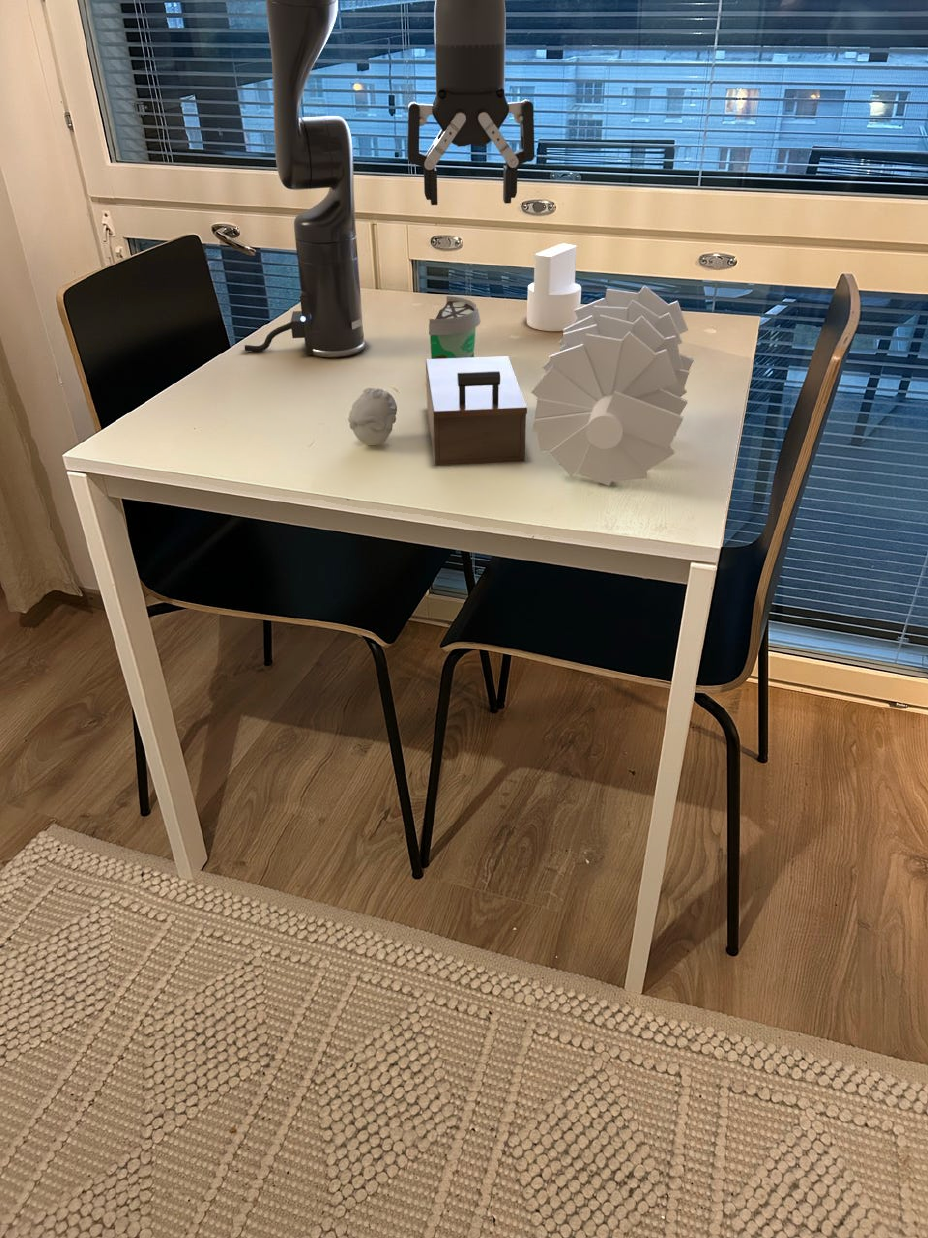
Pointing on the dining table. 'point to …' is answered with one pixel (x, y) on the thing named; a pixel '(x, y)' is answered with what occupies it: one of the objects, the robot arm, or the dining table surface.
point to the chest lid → (474, 387)
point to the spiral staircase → (615, 388)
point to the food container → (454, 329)
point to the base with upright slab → (554, 289)
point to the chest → (476, 437)
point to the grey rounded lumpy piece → (373, 416)
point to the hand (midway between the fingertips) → (470, 202)
